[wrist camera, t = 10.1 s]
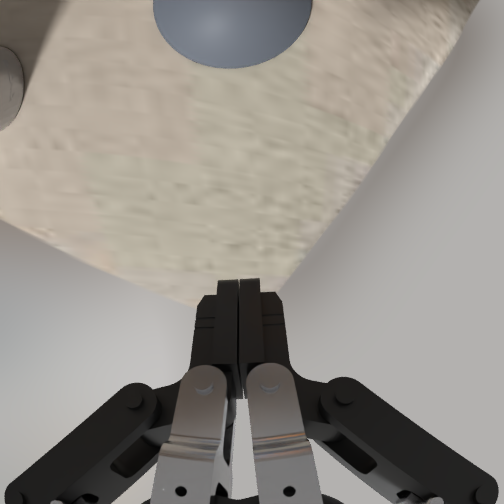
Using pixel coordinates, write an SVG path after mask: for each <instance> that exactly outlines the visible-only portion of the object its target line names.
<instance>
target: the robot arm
mask: <svg viewBox="0 0 504 504" xmlns="http://www.w3.org/2000/svg"><path fill="white" fill-rule="evenodd" d="M23 89H24V80H23V72H22V68H21V65H20V62H19V60H18V58H17V57H16V55H15V54H14V53H13V52H12V51H11V50H9V49H8V48H5V47H0V131H1V130H3V129H5V128H6V127H7V126H8V125H9V124H10V123H11V122H12V121H13V120H14V118H15V116H16V115H17V113H18V111H19V108H20V105H21V102H22V97H23ZM243 389H244V396H245V399H248V407H249V415H250V425H251V432H252V442H253V453H254V462H255V471H256V478H257V487H258V495H257V496H254V497H249V498H245V499H241V500H235V499H231V494H232V458H233V446H234V435H235V423H236V399H243ZM307 438H310V439H313V440H314V441H315V442H316V443H317V444H318V445H320V446H321V447H322V448H323V449H324V450H325V451H327V452H328V453H329V454H330V455H331V456H333V457H334V458H335V459H336V460H337V461H339V462H340V463H341V464H342V465H343V466H345V467H346V468H347V469H348V470H350V471H351V472H352V473H353V474H355V475H356V476H357V477H358V478H360V479H361V480H362V481H363V482H365V483H366V484H367V485H369V486H370V487H371V488H373V489H374V490H375V491H376V492H378V493H379V494H380V495H382V496H383V497H385V498H386V499H387V500H389V501H390V502H391V503H393V504H495V503H496V501H497V498H498V485H497V482H496V480H495V479H494V478H493V477H492V476H491V475H489V474H488V473H486V472H485V471H483V470H482V469H480V468H479V467H477V466H476V465H474V464H473V463H471V462H470V461H468V460H467V459H465V458H464V457H462V456H461V455H459V454H458V453H456V452H455V451H454V450H452V449H451V448H449V447H448V446H446V445H445V444H444V443H442V442H441V441H439V440H438V439H436V438H435V437H433V436H432V435H431V434H429V433H428V432H426V431H425V430H424V429H422V428H421V427H420V426H418V425H417V424H415V423H414V422H413V421H411V420H410V419H409V418H407V417H406V416H404V415H403V414H402V413H400V412H399V411H398V410H396V409H395V408H393V407H392V406H391V405H389V404H388V403H387V402H385V401H384V400H383V399H381V398H380V397H379V396H377V395H376V394H374V393H373V392H372V391H370V390H369V389H368V388H366V387H365V386H364V385H363V384H361V383H360V382H359V381H357V380H355V379H353V378H349V377H339V378H335V379H332V380H331V381H329V382H328V383H322V382H317V381H311V380H308V379H305V378H303V377H301V376H300V375H298V374H297V373H296V372H295V371H294V370H293V368H292V366H291V364H290V361H289V352H288V344H287V336H286V328H285V320H284V313H283V305H282V301H281V300H280V298H279V297H278V295H277V294H276V292H260V278H254V279H240V289H239V281H238V279H237V280H218V285H217V295H204V297H203V298H202V300H201V301H200V303H199V304H198V306H197V313H196V321H195V330H194V336H193V344H192V352H191V361H190V367H189V370H188V372H187V373H185V375H184V376H183V378H182V379H181V380H179V381H178V382H176V383H174V384H172V385H169V386H165V387H161V388H157V389H153V390H152V388H151V387H149V386H148V385H146V384H143V383H131V384H128V385H126V386H124V387H123V388H122V389H120V390H119V391H118V392H117V393H116V394H115V395H114V396H112V397H111V398H110V399H109V400H108V401H107V402H105V403H104V404H103V405H102V406H101V407H100V408H99V409H97V410H96V411H95V412H94V413H93V414H92V415H90V416H89V417H88V418H87V419H86V420H85V421H84V422H82V423H81V424H80V425H79V426H78V427H76V428H75V429H74V430H73V431H72V432H71V433H69V435H67V436H66V437H65V438H64V439H62V440H61V441H60V442H59V443H58V444H57V445H56V446H54V447H53V448H52V449H51V450H50V451H48V452H47V453H46V454H45V455H44V456H42V457H41V458H40V459H39V460H38V461H36V462H35V463H34V464H33V465H32V466H31V467H29V468H28V469H27V470H26V471H25V472H23V473H22V474H21V475H20V476H19V477H17V478H16V479H15V480H14V481H12V482H11V483H10V484H9V485H8V486H7V488H6V491H5V504H111V503H112V502H113V501H114V500H116V499H117V498H118V497H119V496H120V495H121V494H123V493H124V492H125V491H126V490H127V489H128V488H129V487H130V486H132V485H133V484H134V483H135V482H136V481H137V480H138V479H139V478H140V477H141V476H143V475H144V474H145V473H146V472H147V471H148V470H149V469H150V468H151V467H152V466H153V465H154V464H155V463H157V467H156V473H155V478H154V484H153V489H152V495H151V498H150V499H149V500H147V501H145V502H143V503H142V504H343V503H342V502H340V501H339V500H337V499H335V498H332V497H330V496H327V495H324V494H321V491H320V486H319V481H318V476H317V471H316V466H315V461H314V456H313V452H312V448H311V444H310V442H309V440H308V439H307Z"/></svg>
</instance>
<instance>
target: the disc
mask: <svg viewBox="0 0 504 504" xmlns="http://www.w3.org/2000/svg"><path fill="white" fill-rule="evenodd" d="M153 10H154V17H155V20H156V24H157V27H158V29H159V31H160V33H161V34H162V36H163V37H164V39H165V40H166V41H167V42H168V43H169V45H170V46H171V47H172V48H173V49H175V50H176V51H177V52H178V53H180V54H181V55H183V56H185V57H186V58H188V59H190V60H192V61H194V62H197V63H200V64H203V65H206V66H211V67H216V68H242V67H249V66H253V65H257V64H260V63H263V62H265V61H268V60H270V59H272V58H274V57H276V56H277V55H279V54H280V53H282V52H284V51H285V50H286V49H287V48H288V47H290V46H291V45H292V44H293V43H294V42H295V41H296V40H297V38H298V37H299V36H300V34H301V33H302V31H303V30H304V28H305V26H306V24H307V21H308V18H309V15H310V10H311V0H154V1H153Z"/></svg>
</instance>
